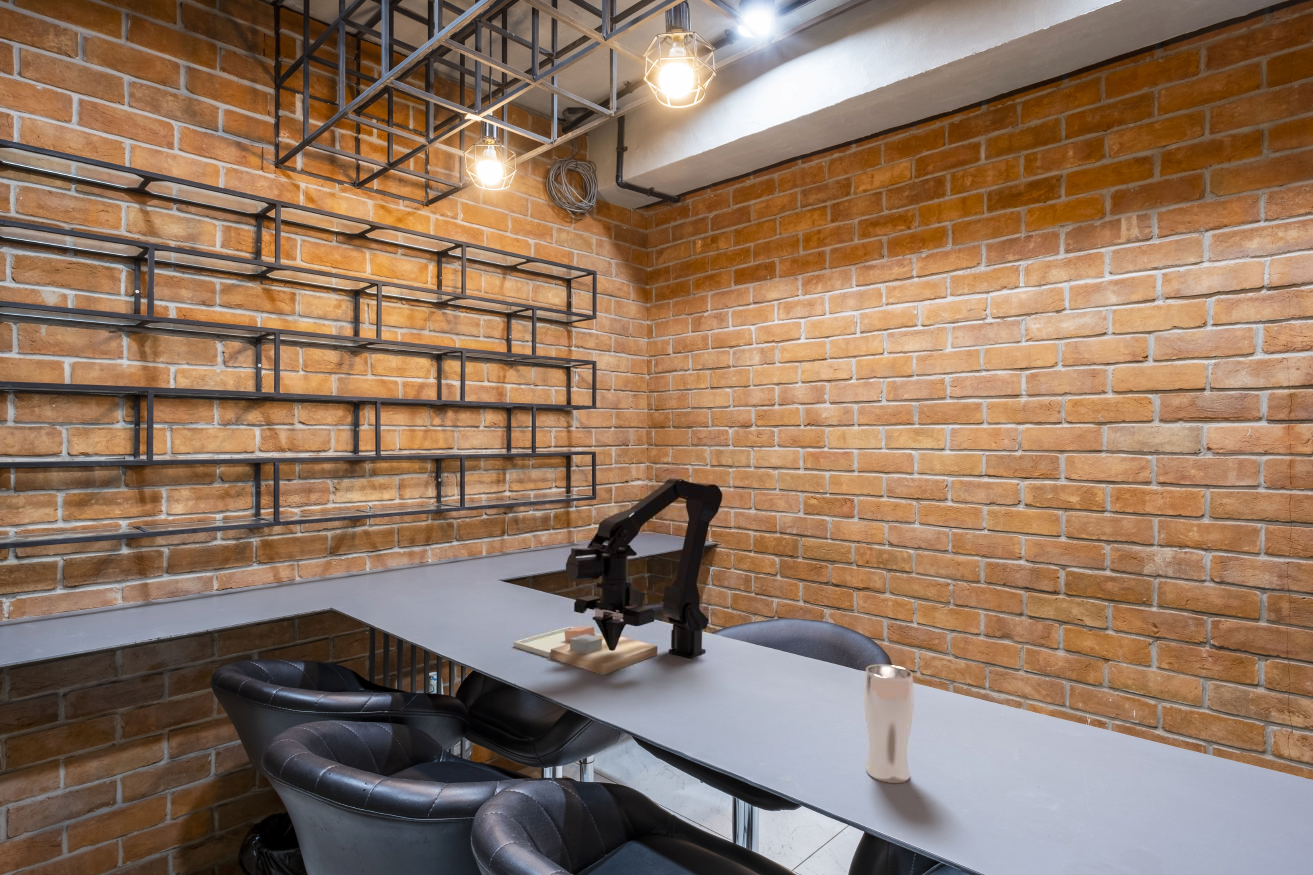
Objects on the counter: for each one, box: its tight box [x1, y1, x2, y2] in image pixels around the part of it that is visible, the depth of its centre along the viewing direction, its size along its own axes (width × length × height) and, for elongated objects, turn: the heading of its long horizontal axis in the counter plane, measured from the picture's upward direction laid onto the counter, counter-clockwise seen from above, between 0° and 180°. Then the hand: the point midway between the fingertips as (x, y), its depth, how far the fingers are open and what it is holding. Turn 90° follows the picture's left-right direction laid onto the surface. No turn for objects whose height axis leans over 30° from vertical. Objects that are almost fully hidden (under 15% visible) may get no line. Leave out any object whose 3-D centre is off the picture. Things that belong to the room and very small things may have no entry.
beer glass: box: [863, 663, 915, 784], centre depth 99 cm, size 7×7×15 cm
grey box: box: [570, 634, 602, 655], centre depth 148 cm, size 5×5×2 cm
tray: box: [513, 626, 601, 659], centre depth 159 cm, size 12×18×1 cm, turn 142°
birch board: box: [550, 633, 658, 676], centre depth 150 cm, size 16×18×2 cm
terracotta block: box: [564, 626, 595, 642], centre depth 160 cm, size 5×5×2 cm
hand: (612, 650), depth 143 cm, fingers closed
